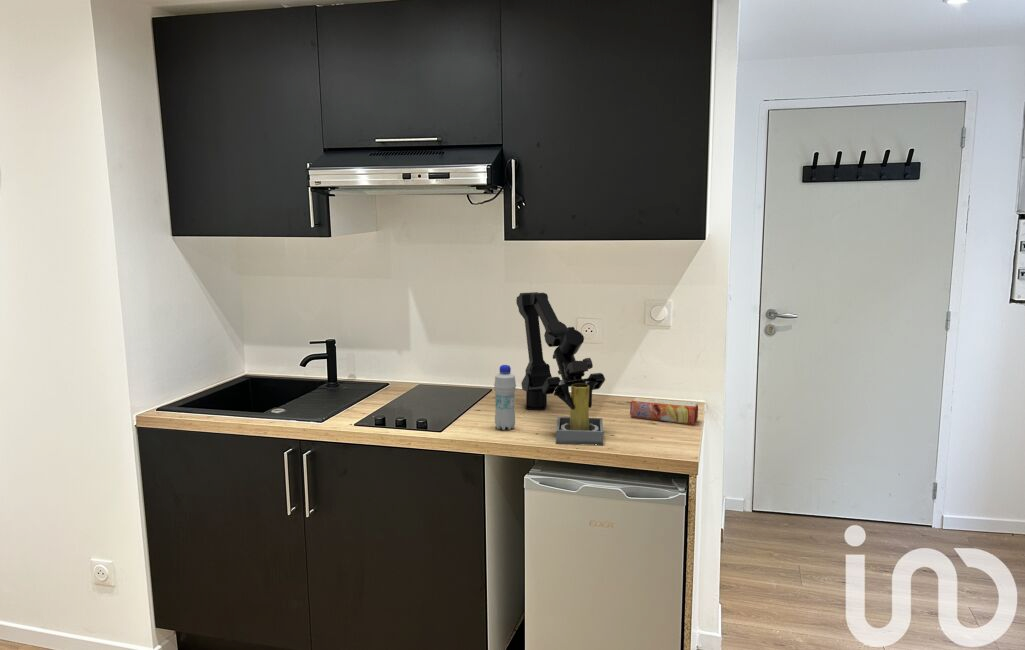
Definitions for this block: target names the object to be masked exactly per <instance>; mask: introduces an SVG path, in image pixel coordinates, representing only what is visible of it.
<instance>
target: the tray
mask: <svg viewBox="0 0 1025 650" xmlns="http://www.w3.org/2000/svg"><path fill="white" fill-rule="evenodd" d="M565 423H570V416H557V421H556V429H555V444H556V445H557V444H558V445H578V444H594V445H593V446H603V445H604V423H603V417H602V418H601V417H589V423H592V424H594V425H596V426H598V431H583V430H561V425H563V424H565ZM595 444H597V445H595Z"/></svg>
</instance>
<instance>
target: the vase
mask: <svg viewBox="0 0 1025 650" xmlns="http://www.w3.org/2000/svg"><path fill="white" fill-rule="evenodd" d="M570 388H571V389H570V391H571V392H570V396H571V398H572V401H573V404H574V410H572V409H571V408H570V412H569V417H570V429H569V430H583V431H590V429H589V418H590V414H589V412H590V411H589V409H590V408H589V385H588V384H585V383H574V384H572V385H571V387H570Z"/></svg>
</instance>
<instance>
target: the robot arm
mask: <svg viewBox="0 0 1025 650" xmlns="http://www.w3.org/2000/svg"><path fill="white" fill-rule="evenodd" d="M515 301H516V305H517V308H518V312H519V314H520V315H521V317H522V318H523V319H524V326H525V335H526V336H525V337H526V343H527V353H528V363H527V366H526V368H525V375H524V377H523V378H522V381H521V382H520V383H521V389H522V390H523V391H524V392H526V394H525V396H526V399H525V400H526V401H525V410H545V409H546V407H547V406H548V395H553V396H555V397H558V398H559V399H560V400H561V401H563V402H564V403H565V404H566V405H567V406H568V407H569V409H570V410H571V409H572V410H574V404H573V401H572V398H571V392H570V388H571V385H572V384H574V383H585V384H588V385H589V409H591V408H592V407H593V405H592V403H593V400H592V399H593V391H594V390H595V391H596V390H599V389H600V388H601V387H602V385H603V384H604V383H605V381H606V377H605V375H604V374H603V373H602V372H595V373H594V372H593V373H590V374H589V376H588V377H587V378H582V377H584V376H585V373H586V372H589V370H590V369H592V368H593V361H592V359H591V357H585V358H584V359H582V360H576V357H575V355H576V354H578V352H579V350H580V348H581V346H582V345H583V343H584V340H585V336H584V335H583V333H581V332H580V331H579V330H577V329H575V327H574V326H567V325H566V324H565V323H563V322H561V321H560V320H559V319H558V317H557V314H556V313H555V311H554V309H553V307H552V305H551V303H550V301H549V296H548V294H547V293H546V292H538V291H537V292H535V291H534V292H533V291H532V292H531V291H530V292H520V293H519V295H518V296H517V297H516V299H515ZM540 320H541V323H542V325H543V327H544V331H545V332H544V335H543V337H544V341H545V343H546V344H547V346H548V347H549V348H550V347H551V348H552V347H553V348H555V349H554V351H553V354H552V359H553V360H555V361H556V364H557V367H558V371H557V374H558V375H560V377H561V378H560V377H559V376H552V373H551V368H550V367H551V366H550V364H549V363H547V362H546V360H544V356H543V355H544V354H543V346H542V336H541V328H540V327H541V326H540Z"/></svg>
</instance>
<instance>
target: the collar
mask: <svg viewBox="0 0 1025 650" xmlns="http://www.w3.org/2000/svg"><path fill="white" fill-rule="evenodd" d="M569 429H570V423H565V424H563V425H561V430H569ZM589 429H590V431H598V426H596V425H594V424H592V423H589Z"/></svg>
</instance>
